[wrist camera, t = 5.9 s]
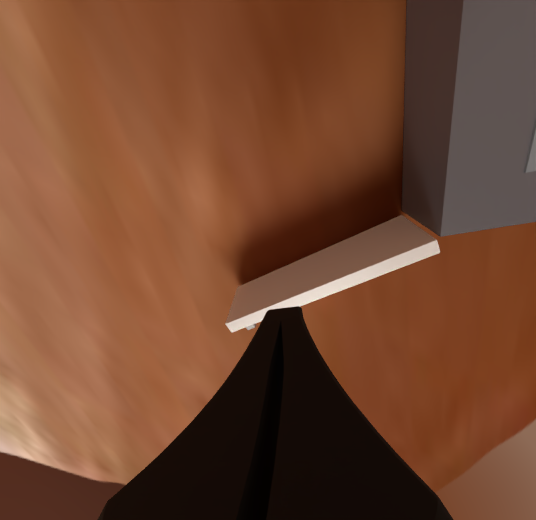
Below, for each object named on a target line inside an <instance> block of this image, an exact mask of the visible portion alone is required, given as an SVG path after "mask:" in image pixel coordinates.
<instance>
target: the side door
mask: <svg viewBox="0 0 536 520" xmlns="http://www.w3.org/2000/svg"><path fill="white" fill-rule="evenodd" d="M438 253H440V250H439V246H438V243H437V240H436V239H435V238H433V237H432V236H431V235H429V234H428V233H426V232H425V231H424V230H422V229H421V228H419V227H418V226H416V225H415V224H414V223H412V222H411V221H409V220H408V219H407V218H405V217H404V216H402V215H400V216H398V217H395V218H393V219H391V220H389V221H386V222H384V223H382V224H380V225H377V226H375V227H373V228H370V229H368V230H366V231H364V232H361V233H359V234H357V235H355V236H352V237H350V238H348V239H345V240H343V241H341V242H339V243H336V244H334V245H332V246H330V247H327V248H325V249H323V250H320V251H318V252H316V253H314V254H311V255H309V256H307V257H305V258H302V259H300V260H298V261H295V262H293V263H291V264H289V265H286V266H284V267H282V268H279V269H277V270H275V271H273V272H270V273H268V274H266V275H264V276H261V277H259V278H257V279H254V280H252V281H250V282H248V283H245V284H243V285H241V286H239V287H237V290H236V293H235V296H234V299H233V302H232V305H231V308H230V311H229V314H228V317H227V320H226V323H225V324H226V326H227V327H228V328H229V329H230V331H231V332H234V331H237V330H240V329H242V328H245V327H246V328H247V329H248V330H249V329H252V328H254V327H255V326H256V323H258V322H261V321H262V320H263V318H264V316H265V314H266V312H267V311H268V310H271V309H279V308H287V307H295V306H299V307H300V306H302V305H305V304H307V303H310V302H313V301H315V300H318V299H320V298H323V297H326V296H328V295H331V294H334V293H336V292H339V291H341V290H344V289H347V288H349V287H352V286H354V285H357V284H360V283H362V282H365V281H367V280H370V279H373V278H375V277H378V276H380V275H383V274H386V273H388V272H391V271H394V270H396V269H399V268H401V267H404V266H407V265H409V264H412V263H414V262H417V261H420V260H422V259H425V258H427V257H430V256H433V255H435V254H438Z"/></svg>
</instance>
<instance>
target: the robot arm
mask: <svg viewBox="0 0 536 520" xmlns="http://www.w3.org/2000/svg"><path fill="white" fill-rule="evenodd" d="M98 520H453V518H452V517H451V515H450V514H449V513H448V511H447V509H446V508H445V507H444V505H443V503H442V502H441V500H440V499H439V497H438V496H437V495H436V494H435V493H434V492H433V491H432V490H431V489H430V487H429V486H428V485H427V484H426V483H425V482H424V481H423V480H422V479H421V478H420V477H419V476H418V475H417V474H416V473H415V472H414V471H413V470H412V469H411V468H410V467H409V466H408V465H407V464H406V463H405V462H404V460H403V459H402V458H401V457H400V456H399V455H398V454H397V453H396V452H395V451H394V450H393V448H392V447H391V446H390V445H389V444H388V443H387V442H386V441H385V440H384V438H383V437H382V436H381V435H380V434H379V433H378V432H377V430H376V429H375V428H374V427H373V426H372V424H371V423H370V422H369V421H368V420H367V418H366V417H365V416H364V415H363V414H362V412H361V411H360V410H359V409H358V407H357V406H356V405H355V404H354V403H353V401H352V400H351V399H350V397H349V396H348V395H347V393H346V392H345V391H344V389H343V388H342V386H341V385H340V384H339V382H338V381H337V379H336V378H335V377H334V375H333V374H332V372H331V371H330V369H329V367H328V366H327V364H326V363H325V361H324V359H323V358H322V356H321V354H320V353H319V351H318V349H317V347H316V345H315V343H314V341H313V339H312V337H311V336H310V333H309V331H308V329H307V327H306V324H305V321H304V318H303V313H302V308H300V307H299V306H295V307H287V308H279V309H271V310H268V311H267V312H266V314H265V316H264V318H263V320H262V322H261V324H260V326H259V328H258V330H257V332H256V333H255V335H254V337H253V339H252V341H251V342H250V344H249V346H248V347H247V349H246V351H245V352H244V354H243V356H242V357H241V359H240V360H239V362H238V363H237V365H236V366H235V368H234V369H233V371H232V372H231V374H230V375H229V377H228V378H227V379H226V381H225V382H224V383H223V385H222V386H221V387H220V389H219V390H218V391H217V393H216V394H215V395H214V396H213V398H212V399H211V400H210V401H209V402H208V403H207V405H206V406H205V407H204V408H203V409H202V411H201V412H200V413H199V414H198V415H197V416H196V417H195V419H194V420H193V421H192V422H191V423H190V424H189V425H188V426H187V427H186V428H185V429H184V430H183V431H182V432H181V433H180V434H179V435H178V437H177V438H176V439H175V440H174V441H173V442H172V443H171V444H170V445H169V446H168V447H167V448H166V449H165V450H164V451H163V452H162V453H161V454H160V455H159V456H158V457H157V458H156V459H154V460H153V461H152V462H151V463H150V464H149V465H148V466H147V467H146V468H145V469H144V470H142V471H141V472H140V473H139V474H138V475H137V476H136V477H135V478H133V479H132V480H131V481H130V482H129V483H128V484H127V485H126V486H124V487H123V488H122V489H121V490H120V491H119V492H118V493H117V494H115V495H114V496H113V497H112V498H111V499H109V500H108V501H107V503H106V505H105V507H104V509H103V511H102V513H101V514H100V516H99V518H98Z"/></svg>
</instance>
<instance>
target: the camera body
mask: <svg viewBox="0 0 536 520" xmlns="http://www.w3.org/2000/svg"><path fill="white" fill-rule="evenodd" d="M402 211H403V212H405V213H406V214H408V215H409V216H411V217H412V218H414V219H415V220H417V221H418V222H419V223H421V224H422V225H424V226H425V227H427V228H428V229H430V230H431V231H433V232H434V233H436V234H437V235H439V236H440V237H441V236H447V235H454V234H460V233H467V232H473V231H479V230H486V229H492V228H498V227H505V226H511V225H518V224H524V223H530V222H536V0H407V8H406V50H405V92H404V134H403V176H402Z"/></svg>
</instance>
